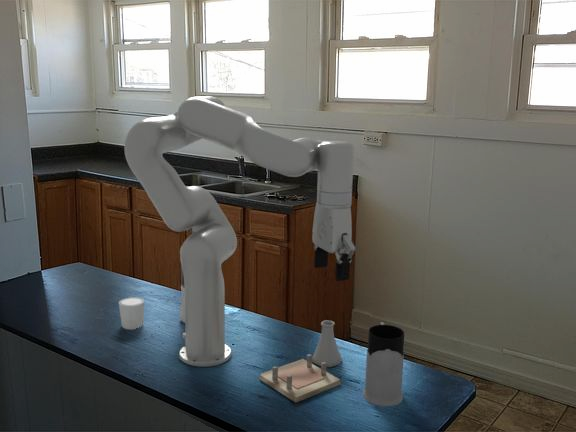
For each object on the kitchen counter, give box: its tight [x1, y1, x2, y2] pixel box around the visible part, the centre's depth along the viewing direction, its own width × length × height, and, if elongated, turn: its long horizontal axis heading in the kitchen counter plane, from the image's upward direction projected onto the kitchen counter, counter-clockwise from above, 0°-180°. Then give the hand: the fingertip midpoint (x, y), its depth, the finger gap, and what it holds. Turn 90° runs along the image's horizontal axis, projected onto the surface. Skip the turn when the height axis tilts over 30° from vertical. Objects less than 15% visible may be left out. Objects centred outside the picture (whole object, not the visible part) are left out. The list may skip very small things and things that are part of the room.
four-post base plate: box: [258, 353, 341, 403], centre depth 138 cm, size 13×13×4 cm
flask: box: [312, 319, 343, 368], centre depth 148 cm, size 7×7×10 cm
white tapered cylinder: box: [118, 296, 146, 330], centre depth 167 cm, size 7×7×7 cm
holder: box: [362, 322, 405, 407], centre depth 134 cm, size 9×14×15 cm, turn 177°
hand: (331, 273), depth 137 cm, fingers open, 9 cm apart
